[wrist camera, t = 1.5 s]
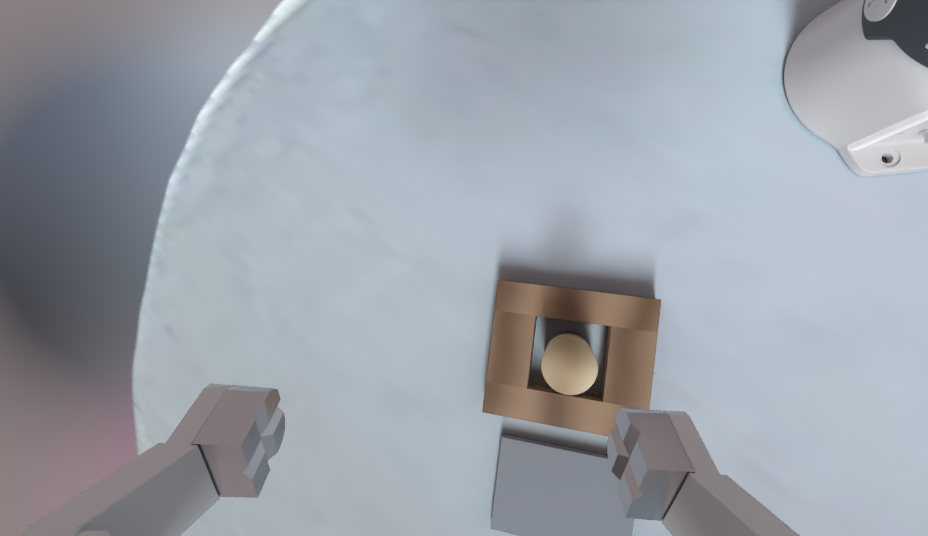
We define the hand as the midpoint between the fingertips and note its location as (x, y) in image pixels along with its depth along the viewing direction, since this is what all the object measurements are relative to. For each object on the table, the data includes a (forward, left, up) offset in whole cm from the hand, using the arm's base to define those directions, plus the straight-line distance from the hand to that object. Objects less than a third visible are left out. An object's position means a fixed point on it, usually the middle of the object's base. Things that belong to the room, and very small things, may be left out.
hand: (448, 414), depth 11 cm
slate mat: (-4, +16, -35) cm, 39 cm away
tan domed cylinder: (-3, +2, -35) cm, 35 cm away
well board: (-3, +2, -35) cm, 35 cm away
